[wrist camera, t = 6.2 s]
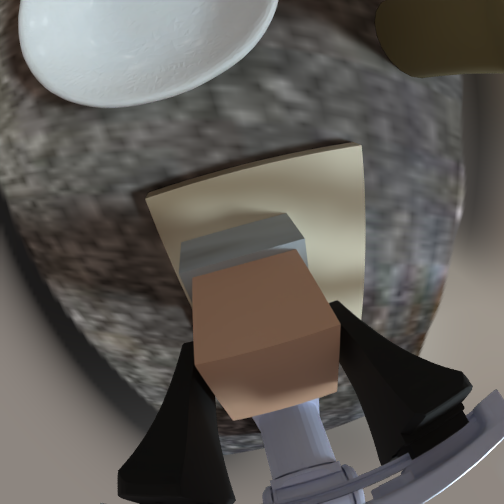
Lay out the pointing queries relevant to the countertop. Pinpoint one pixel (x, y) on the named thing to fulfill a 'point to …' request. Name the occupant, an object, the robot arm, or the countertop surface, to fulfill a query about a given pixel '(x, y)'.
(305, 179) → the baseboard
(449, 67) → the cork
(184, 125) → the countertop surface
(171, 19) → the spoon rest
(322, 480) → the robot arm
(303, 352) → the terracotta block
